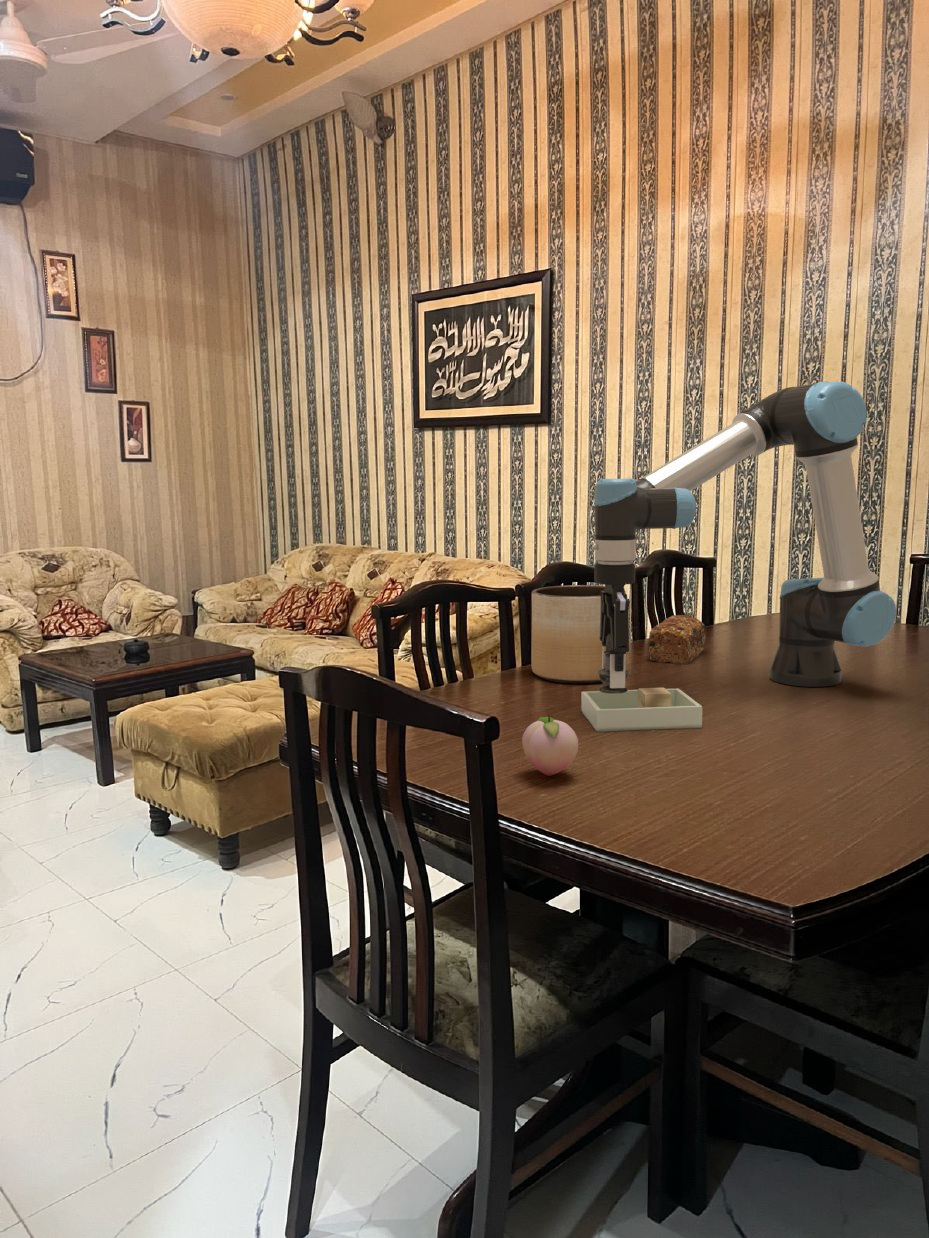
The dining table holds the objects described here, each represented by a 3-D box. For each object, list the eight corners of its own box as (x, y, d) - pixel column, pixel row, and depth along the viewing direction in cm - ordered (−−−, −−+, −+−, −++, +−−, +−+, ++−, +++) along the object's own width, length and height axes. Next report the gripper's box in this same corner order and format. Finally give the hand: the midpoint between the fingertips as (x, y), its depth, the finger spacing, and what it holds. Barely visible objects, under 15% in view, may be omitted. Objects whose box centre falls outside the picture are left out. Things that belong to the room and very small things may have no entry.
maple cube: (663, 712, 175) (663, 687, 174) (670, 719, 170) (671, 693, 169) (638, 713, 175) (638, 688, 174) (644, 720, 170) (645, 694, 169)
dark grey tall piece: (628, 694, 168) (629, 631, 166) (596, 693, 169) (597, 630, 167) (629, 687, 173) (630, 626, 171) (598, 686, 174) (598, 625, 173)
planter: (617, 688, 198) (618, 597, 195) (520, 682, 205) (520, 595, 202) (632, 667, 219) (633, 585, 216) (543, 663, 226) (543, 584, 223)
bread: (667, 649, 241) (667, 612, 240) (707, 652, 236) (708, 614, 235) (646, 662, 225) (647, 623, 224) (689, 665, 220) (690, 625, 219)
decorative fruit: (587, 782, 138) (587, 718, 136) (537, 788, 135) (537, 723, 134) (563, 763, 146) (563, 704, 145) (516, 769, 144) (515, 708, 143)
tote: (678, 707, 180) (678, 688, 179) (701, 727, 166) (702, 706, 165) (581, 711, 179) (581, 691, 178) (596, 731, 164) (597, 710, 164)
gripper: (584, 558, 176) (584, 673, 180) (606, 567, 158) (604, 696, 161) (622, 557, 177) (621, 672, 180) (648, 566, 158) (646, 694, 162)
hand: (613, 683), depth 171 cm, fingers closed on dark grey tall piece, 6 cm apart
